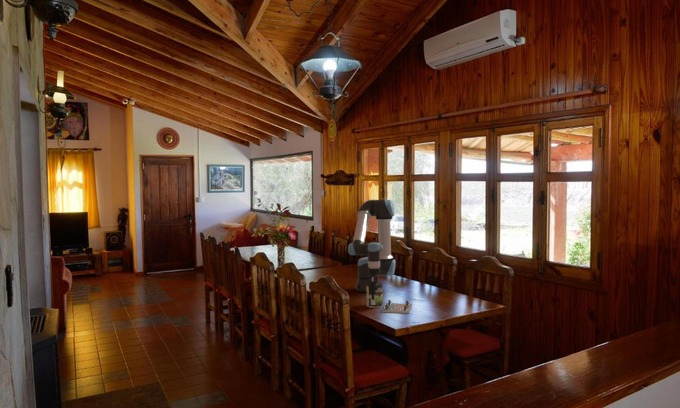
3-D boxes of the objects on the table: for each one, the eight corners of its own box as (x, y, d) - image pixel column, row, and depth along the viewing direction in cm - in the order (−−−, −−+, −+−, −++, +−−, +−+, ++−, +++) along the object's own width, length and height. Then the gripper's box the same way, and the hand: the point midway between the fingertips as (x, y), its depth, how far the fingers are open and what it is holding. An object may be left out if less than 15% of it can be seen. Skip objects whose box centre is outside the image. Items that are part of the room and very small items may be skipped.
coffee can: (386, 306, 312) (386, 283, 311) (373, 308, 306) (373, 286, 305) (375, 302, 321) (375, 281, 320) (363, 305, 315) (362, 283, 314)
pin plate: (386, 305, 314) (386, 299, 313) (411, 306, 310) (411, 300, 310) (382, 312, 298) (382, 305, 298) (409, 313, 294) (409, 306, 294)
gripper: (371, 264, 324) (371, 297, 325) (364, 270, 302) (365, 306, 303) (382, 264, 322) (383, 298, 323) (377, 271, 300) (377, 307, 301)
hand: (374, 302), depth 313 cm, fingers closed on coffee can, 10 cm apart
